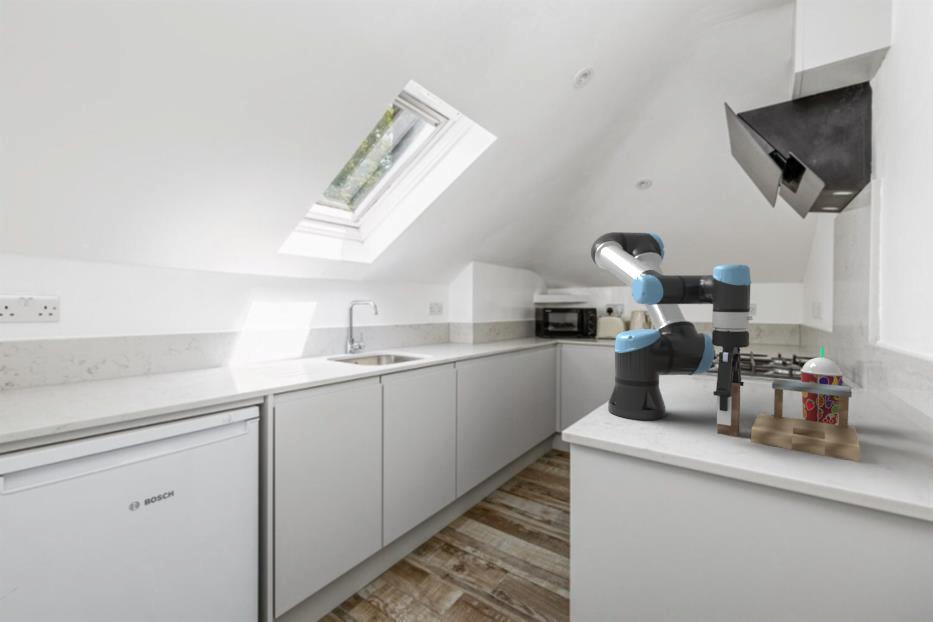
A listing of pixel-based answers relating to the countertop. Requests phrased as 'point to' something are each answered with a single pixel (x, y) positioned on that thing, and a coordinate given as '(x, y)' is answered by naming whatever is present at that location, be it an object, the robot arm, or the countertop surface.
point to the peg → (732, 414)
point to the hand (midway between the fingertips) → (728, 417)
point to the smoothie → (821, 404)
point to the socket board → (808, 425)
